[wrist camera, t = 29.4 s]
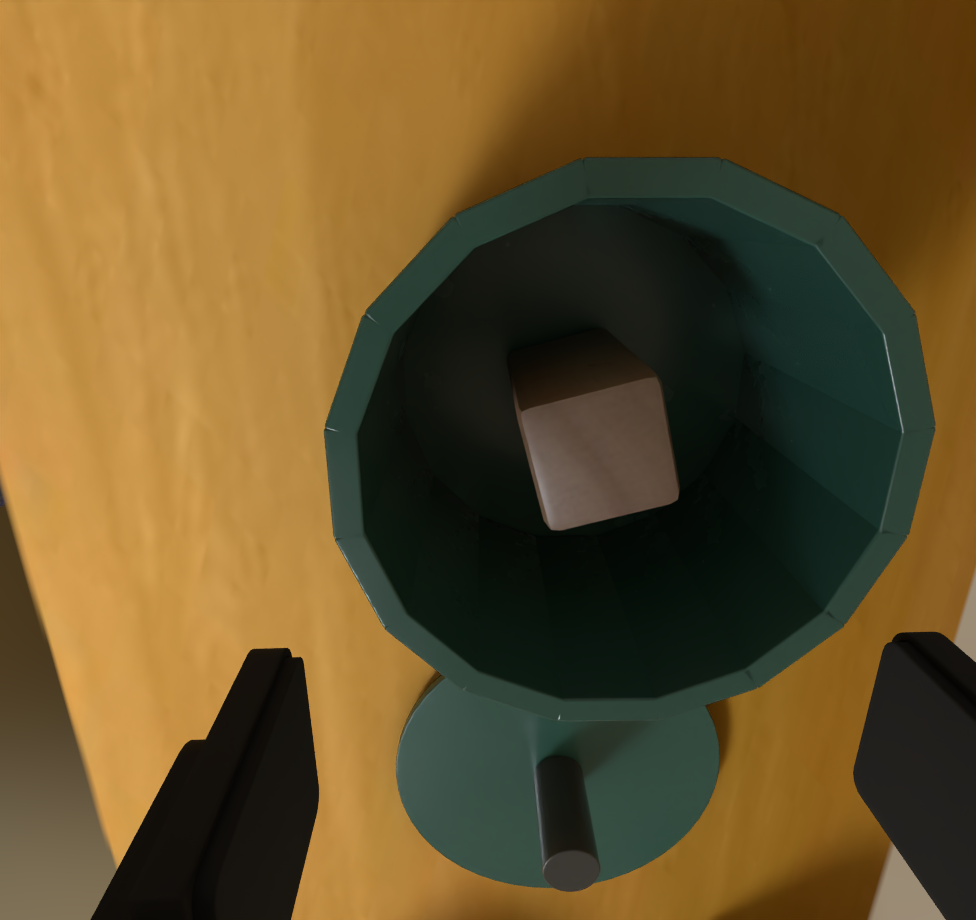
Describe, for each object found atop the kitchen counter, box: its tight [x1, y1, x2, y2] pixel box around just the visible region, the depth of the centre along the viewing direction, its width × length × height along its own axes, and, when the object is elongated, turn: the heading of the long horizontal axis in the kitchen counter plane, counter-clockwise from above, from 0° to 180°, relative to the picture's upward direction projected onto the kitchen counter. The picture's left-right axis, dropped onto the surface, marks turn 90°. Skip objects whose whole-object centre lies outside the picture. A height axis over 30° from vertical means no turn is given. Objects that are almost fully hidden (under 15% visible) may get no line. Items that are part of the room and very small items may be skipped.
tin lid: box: [396, 675, 720, 892], centre depth 30 cm, size 16×16×6 cm
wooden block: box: [507, 328, 680, 530], centre depth 22 cm, size 4×4×8 cm
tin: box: [324, 157, 935, 721], centre depth 21 cm, size 15×15×10 cm
